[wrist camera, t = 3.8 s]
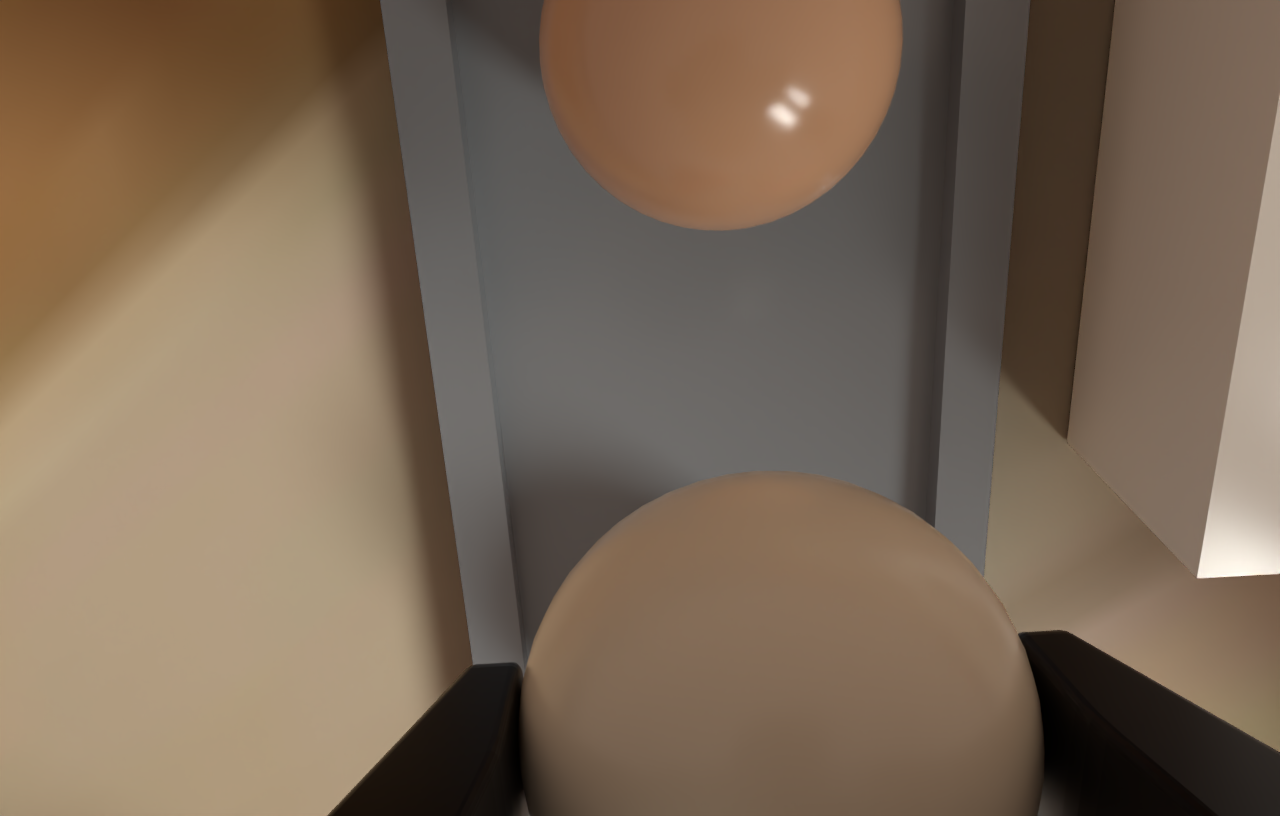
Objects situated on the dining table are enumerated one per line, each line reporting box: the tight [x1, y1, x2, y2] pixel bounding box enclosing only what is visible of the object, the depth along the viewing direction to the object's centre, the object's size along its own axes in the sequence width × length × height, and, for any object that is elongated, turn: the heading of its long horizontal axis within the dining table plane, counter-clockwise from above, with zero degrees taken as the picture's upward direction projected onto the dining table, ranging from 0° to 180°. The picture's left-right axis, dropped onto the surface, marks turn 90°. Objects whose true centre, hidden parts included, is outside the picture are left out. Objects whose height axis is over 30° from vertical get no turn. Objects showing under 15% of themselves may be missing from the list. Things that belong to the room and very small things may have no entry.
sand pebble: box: [518, 471, 1045, 816], centre depth 8 cm, size 4×4×4 cm
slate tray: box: [380, 0, 1030, 677], centre depth 15 cm, size 16×8×1 cm, turn 3°
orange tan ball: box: [539, 0, 903, 231], centre depth 12 cm, size 4×4×4 cm
